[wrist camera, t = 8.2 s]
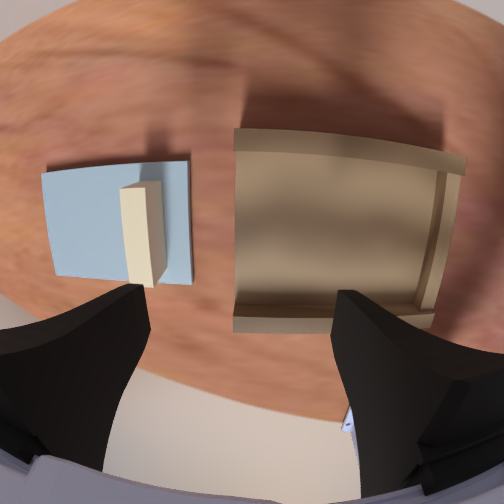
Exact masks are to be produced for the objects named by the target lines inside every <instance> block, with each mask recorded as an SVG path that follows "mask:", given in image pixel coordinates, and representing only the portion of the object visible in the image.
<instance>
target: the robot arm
mask: <svg viewBox="0 0 504 504" xmlns="http://www.w3.org/2000/svg"><path fill="white" fill-rule="evenodd" d="M150 331H151V327H150V322H149V316H148V310H147V304H146V298H145V292H144V285H143V284H131V283H129V284H125V285H123V286H120V287H118V288H116V289H114V290H111V291H109V292H107V293H105V294H103V295H101V296H99V297H97V298H95V299H93V300H91V301H89V302H87V303H85V304H83V305H80V306H78V307H76V308H74V309H72V310H70V311H67V312H65V313H62V314H60V315H57V316H54V317H51V318H49V319H46V320H42V321H39V322H35V323H31V324H28V325H24V326H19V327H14V328H9V329H2V330H0V504H281V503H277V502H274V501H270V500H261V499H251V498H242V497H235V496H223V495H212V494H202V493H195V492H187V491H181V490H174V489H169V488H163V487H158V486H153V485H149V484H144V483H140V482H136V481H132V480H128V479H124V478H120V477H117V476H113V475H109V474H106V473H103V472H102V470H103V463H104V458H105V453H106V448H107V443H108V438H109V435H110V431H111V427H112V424H113V420H114V417H115V414H116V411H117V407H118V404H119V401H120V399H121V396H122V394H123V391H124V389H125V388H126V386H127V383H128V381H129V379H130V378H131V376H132V374H133V372H134V370H135V368H136V366H137V364H138V362H139V360H140V358H141V356H142V354H143V351H144V349H145V346H146V343H147V340H148V337H149V334H150ZM330 336H331V342H332V348H333V353H334V358H335V361H336V364H337V367H338V370H339V373H340V376H341V379H342V382H343V385H344V388H345V391H346V394H347V397H348V400H349V403H350V407H349V409H348V412H347V414H346V417H345V420H344V422H343V425H342V427H341V430H342V431H343V432H348V431H350V432H351V436H352V440H353V444H354V448H355V452H356V456H357V460H358V464H359V469H360V481H361V499H357V500H351V501H345V502H337V503H331V504H504V354H500V353H492V352H486V351H481V350H477V349H473V348H469V347H465V346H462V345H458V344H455V343H452V342H450V341H447V340H444V339H441V338H439V337H436V336H434V335H431V334H429V333H427V332H425V331H423V330H421V329H418V328H417V327H415V326H413V325H411V324H409V323H407V322H406V321H404V320H402V319H400V318H399V317H397V316H395V315H394V314H392V313H390V312H389V311H387V310H386V309H384V308H383V307H381V306H380V305H378V304H377V303H375V302H374V301H372V300H371V299H369V298H368V297H366V296H364V295H363V294H361V293H360V292H358V291H356V290H338V293H337V299H336V306H335V312H334V318H333V324H332V329H331V335H330Z"/></svg>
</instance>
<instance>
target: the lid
mask: <svg viewBox="0 0 504 504" xmlns="http://www.w3.org/2000/svg"><path fill="white" fill-rule="evenodd" d="M41 176H42V188H43V199H44V207H45V215H46V223H47V229H48V236H49V241H50V247H51V252H52V257H53V262H54V267H55V272H56V275H59V276H70V277H82V278H94V279H107V280H121V281H129V282H130V283H131V284H143V285H144V287H152V288H154V286H155V285H156V284H157V283H168V284H187V285H192V283H193V281H194V274H193V256H192V234H191V203H190V160H189V161H161V162H142V163H127V164H115V165H103V166H93V167H84V168H75V169H67V170H59V171H52V172H46V173H41Z"/></svg>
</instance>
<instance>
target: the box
mask: <svg viewBox="0 0 504 504" xmlns="http://www.w3.org/2000/svg"><path fill="white" fill-rule="evenodd" d="M234 151H236V185H235V306H234V313H233V332H236V333H267V334H331V329H332V324H333V318H334V312H335V306H336V299H337V293H338V290H356V291H358V292H360V293H361V294H363V295H364V296H366V297H368V298H369V299H371V300H372V301H374V302H375V303H377V304H378V305H380V306H381V307H383V308H384V309H386V310H387V311H389V312H390V313H392V314H394V315H395V316H397V317H399V318H400V319H402V320H404V321H406V322H407V323H409V324H411V325H413V326H415V327H417V328H418V329H424V328H430V327H431V324H432V321H433V318H434V315H435V313H434V312H433V308H434V305H435V302H436V298H437V295H438V291H439V288H440V284H441V281H442V277H443V273H444V269H445V265H446V261H447V257H448V252H449V248H450V243H451V238H452V233H453V228H454V222H455V216H456V210H457V203H458V196H459V188H460V179H461V175H462V176H465V165H466V157H463V156H459V155H455V154H451V153H447V152H443V151H438V150H434V149H429V148H424V147H419V146H414V145H409V144H404V143H398V142H392V141H386V140H380V139H373V138H366V137H359V136H351V135H342V134H333V133H323V132H312V131H298V130H281V129H255V128H234Z"/></svg>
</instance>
